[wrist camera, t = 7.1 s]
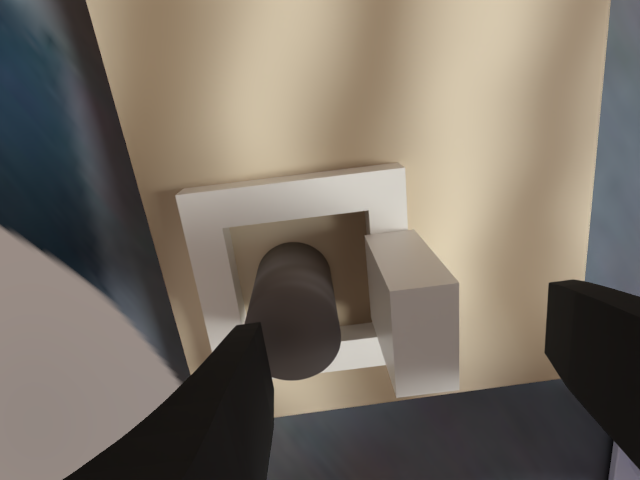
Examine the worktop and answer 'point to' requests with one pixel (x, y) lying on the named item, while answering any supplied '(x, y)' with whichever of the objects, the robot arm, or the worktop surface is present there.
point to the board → (368, 161)
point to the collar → (381, 256)
